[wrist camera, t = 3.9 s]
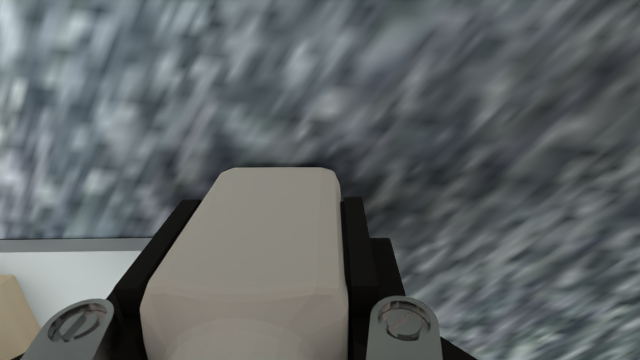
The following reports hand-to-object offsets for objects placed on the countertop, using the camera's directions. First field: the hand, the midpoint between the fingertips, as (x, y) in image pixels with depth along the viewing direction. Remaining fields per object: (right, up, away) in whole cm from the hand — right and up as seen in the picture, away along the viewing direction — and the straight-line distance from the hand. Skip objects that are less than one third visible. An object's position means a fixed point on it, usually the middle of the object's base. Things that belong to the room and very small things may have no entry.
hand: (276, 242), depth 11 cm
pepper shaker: (0, +1, +2) cm, 2 cm away
